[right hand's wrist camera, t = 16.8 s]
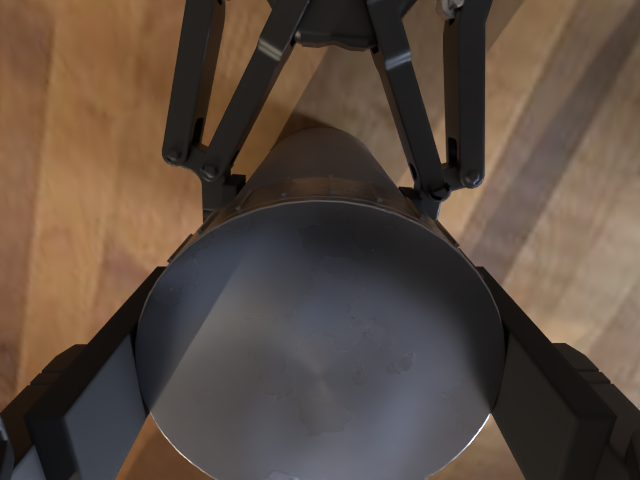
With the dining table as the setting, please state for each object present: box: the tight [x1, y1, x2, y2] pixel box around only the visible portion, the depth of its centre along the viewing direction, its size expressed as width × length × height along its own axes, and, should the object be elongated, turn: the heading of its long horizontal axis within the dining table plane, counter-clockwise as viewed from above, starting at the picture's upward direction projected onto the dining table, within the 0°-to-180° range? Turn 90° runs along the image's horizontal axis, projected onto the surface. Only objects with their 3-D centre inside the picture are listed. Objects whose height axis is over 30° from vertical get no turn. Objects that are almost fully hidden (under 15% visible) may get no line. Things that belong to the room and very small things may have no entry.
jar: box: [234, 127, 405, 200], centre depth 20 cm, size 9×9×19 cm
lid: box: [135, 175, 506, 480], centre depth 11 cm, size 9×10×2 cm
